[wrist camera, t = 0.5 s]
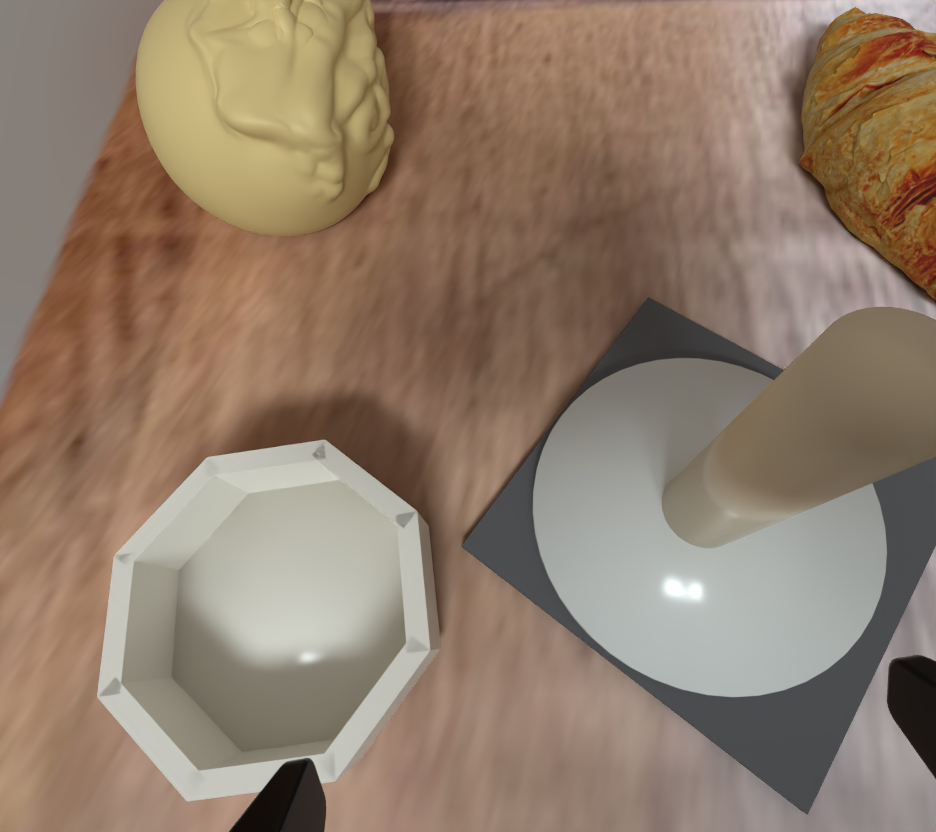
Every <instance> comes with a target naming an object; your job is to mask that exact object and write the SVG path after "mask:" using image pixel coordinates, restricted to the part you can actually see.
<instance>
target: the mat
mask: <svg viewBox="0 0 936 832" xmlns="http://www.w3.org/2000/svg"><path fill="white" fill-rule="evenodd" d="M673 358H699V359H706V360H714V361H721V362H725V363H729V364H733V365H737V366H741V367H743V368H746V369H749V370H752V371H755V372H757V373H760V374H762V375H764V376H766V377H768V378H771V379H773V380H775V379H776V378H777V377H778V376H779V375H780V374H781V373H782V372H783V370H781V369H780V368H778V367H776V366H774V365H772V364H770V363H768V362H767V361H765V360H763V359H761V358H759V357H757V356H756V355H754V354H752V353H750V352H748V351H746V350H744V349H743V348H741V347H739V346H737V345H735V344H733V343H732V342H730V341H728V340H726V339H724V338H722V337H721V336H719V335H717V334H715V333H713V332H711V331H709V330H708V329H706V328H704V327H702V326H700V325H698V324H697V323H695V322H693V321H691V320H689V319H687V318H685V317H684V316H682V315H680V314H678V313H676V312H674V311H673V310H671V309H669V308H667V307H665V306H663V305H661V304H660V303H658V302H656V301H654V300H652V299H650V298H649V297H648V298H647V300H646V301H645V302H644V304H643V305H642V306H641V308H640V309H639V310H638V312H637V313H636V314H635V316H634V317H633V318H632V320H631V321H630V322H629V324H628V325H627V326H626V328H625V329H624V330H623V332H622V333H621V334H620V336H619V337H618V338H617V340H616V341H615V342H614V344H613V345H612V346H611V348H610V349H609V350H608V352H607V353H606V354H605V356H604V357H603V358H602V360H601V361H600V362H599V364H598V365H597V366H596V368H595V369H594V370H593V372H592V373H591V374H590V376H589V377H588V378H587V380H586V381H585V382H584V384H583V385H582V386H581V388H580V389H579V390H578V391H577V393H576V394H575V395H574V397H573V398H572V399H571V401H570V402H569V403H568V405H567V406H566V407H565V409H564V410H563V411H562V413H561V414H560V415H559V417H558V418H557V419H556V421H555V422H554V423H553V425H552V426H551V427H550V429H549V430H548V431H547V433H546V434H545V435H544V437H543V438H542V439H541V441H540V442H539V443H538V445H537V446H536V447H535V449H534V450H533V451H532V453H531V454H530V455H529V457H528V458H527V459H526V461H525V462H524V463H523V465H522V466H521V467H520V469H519V470H518V471H517V473H516V474H515V475H514V477H513V478H512V479H511V481H510V482H509V483H508V485H507V486H506V487H505V489H504V490H503V491H502V493H501V494H500V495H499V497H498V498H497V499H496V501H495V502H494V503H493V505H492V506H491V507H490V509H489V510H488V511H487V513H486V514H485V515H484V517H483V518H482V519H481V521H480V522H479V523H478V525H477V526H476V527H475V529H474V530H473V531H472V533H471V534H470V535H469V537H468V538H467V539H466V541H465V542H464V543H463V545H462V547H463V548H464V549H465V550H467V551H468V552H469V553H470V554H472V555H473V556H474V557H476V558H477V559H478V560H479V561H481V562H482V563H483V564H485V565H486V566H487V567H488V568H490V569H491V570H492V571H494V572H495V573H496V574H497V575H499V576H500V577H501V578H503V579H504V580H505V581H507V582H508V583H509V584H510V585H512V586H513V587H514V588H516V589H517V590H518V591H519V592H521V593H522V594H523V595H525V596H526V597H527V598H528V599H530V600H531V601H532V602H534V603H535V604H536V605H537V606H539V607H540V608H541V609H543V610H544V611H545V612H546V613H548V614H549V615H550V616H552V617H553V618H554V619H555V620H557V621H558V622H559V623H561V624H562V625H563V626H564V627H566V628H567V629H568V630H570V631H571V632H572V633H573V634H575V635H576V636H577V637H579V638H580V639H581V640H582V641H584V642H585V643H586V644H588V645H589V646H590V647H591V648H593V649H594V650H595V651H597V652H598V653H599V654H600V655H602V656H603V657H604V658H606V659H607V660H608V661H609V662H611V663H612V664H613V665H615V666H616V667H617V668H618V669H620V670H621V671H622V672H624V673H625V674H626V675H627V676H629V677H630V678H631V679H633V680H634V681H635V682H636V683H638V684H639V685H640V686H642V687H643V688H644V689H645V690H647V691H648V692H649V693H651V694H652V695H653V696H654V697H656V698H657V699H658V700H660V701H661V702H662V703H663V704H665V705H666V706H667V707H669V708H670V709H671V710H672V711H674V712H675V713H676V714H678V715H679V716H680V717H681V718H683V719H684V720H685V721H687V722H688V723H689V724H691V725H692V726H693V727H694V728H696V729H697V730H698V731H700V732H701V733H702V734H703V735H705V736H706V737H707V738H709V739H710V740H711V741H712V742H714V743H715V744H716V745H718V746H719V747H720V748H721V749H723V750H724V751H725V752H727V753H728V754H729V755H730V756H732V757H733V758H734V759H736V760H737V761H738V762H739V763H741V764H742V765H743V766H745V767H746V768H747V769H748V770H750V771H751V772H752V773H754V774H755V775H756V776H757V777H759V778H760V779H761V780H763V781H764V782H765V783H766V784H768V785H769V786H770V787H772V788H773V789H774V790H775V791H777V792H778V793H779V794H781V795H782V796H783V797H784V798H786V799H787V800H788V801H790V802H791V803H792V804H793V805H795V806H796V807H797V808H799V809H800V810H801V811H803V812H804V813H806V814H808V812H809V810H810V808H811V806H812V804H813V802H814V800H815V798H816V796H817V793H818V791H819V789H820V787H821V785H822V783H823V781H824V779H825V777H826V775H827V772H828V770H829V768H830V766H831V764H832V762H833V760H834V758H835V756H836V754H837V751H838V749H839V747H840V745H841V743H842V741H843V739H844V737H845V735H846V733H847V731H848V728H849V726H850V724H851V722H852V720H853V718H854V716H855V714H856V712H857V710H858V707H859V705H860V703H861V701H862V699H863V697H864V695H865V693H866V691H867V689H868V686H869V684H870V682H871V680H872V678H873V676H874V674H875V672H876V670H877V668H878V666H879V663H880V661H881V659H882V657H883V655H884V653H885V651H886V649H887V647H888V645H889V642H890V640H891V638H892V636H893V634H894V632H895V630H896V628H897V626H898V624H899V621H900V619H901V617H902V615H903V613H904V611H905V609H906V607H907V605H908V603H909V600H910V598H911V596H912V594H913V592H914V590H915V588H916V586H917V584H918V582H919V580H920V577H921V575H922V573H923V571H924V569H925V567H926V565H927V563H928V561H929V559H930V556H931V554H932V552H933V550H934V548H935V546H936V457H934V458H931V459H929V460H927V461H924V462H922V463H919V464H917V465H915V466H912V467H910V468H907V469H905V470H903V471H900V472H898V473H896V474H893V475H891V476H888V477H886V478H884V479H881V480H879V481H876V482H874V483H872V484H873V486H874V489H875V492H876V495H877V497H878V500H879V503H880V506H881V511H882V515H883V520H884V525H885V532H886V545H887V558H886V573H885V578H884V583H883V587H882V592H881V596H880V599H879V601H878V604H877V606H876V609H875V611H874V614H873V616H872V618H871V620H870V622H869V623H868V625H867V627H866V628H865V630H864V632H863V633H862V635H861V637H860V638H859V639H858V640H857V641H856V643H855V644H854V645H853V646H852V647H851V648H850V650H849V651H848V652H847V653H846V654H845V655H844V656H843V657H842V658H840V659H839V660H838V661H837V662H836V663H834V664H833V665H832V666H831V667H830V668H828V669H827V670H825V671H824V672H822V673H820V674H819V675H817V676H815V677H813V678H812V679H810V680H808V681H807V682H804V683H801V684H799V685H796V686H794V687H791V688H788V689H786V690H783V691H778V692H774V693H769V694H764V695H760V696H745V697H725V696H713V695H705V694H700V693H696V692H691V691H687V690H682V689H679V688H676V687H673V686H670V685H668V684H665V683H662V682H659V681H657V680H654V679H651V678H649V677H647V676H645V675H643V674H641V673H640V672H638V671H636V670H634V669H632V668H630V667H628V666H627V665H625V664H624V663H622V662H621V661H619V660H618V659H616V658H615V657H613V656H612V655H610V654H609V653H608V652H606V651H605V650H604V649H603V648H602V647H601V646H600V645H598V644H597V643H596V642H595V641H594V640H593V639H592V638H590V637H589V636H588V634H587V633H586V632H585V631H584V630H583V629H582V628H581V627H580V626H579V624H578V623H577V622H576V621H575V620H574V619H573V618H572V616H571V615H570V613H569V612H568V611H567V609H566V608H565V606H564V605H563V603H562V602H561V601H560V599H559V598H558V596H557V594H556V592H555V590H554V588H553V586H552V584H551V582H550V581H549V579H548V577H547V574H546V571H545V569H544V566H543V563H542V561H541V558H540V555H539V551H538V547H537V543H536V539H535V534H534V524H533V515H532V508H533V489H534V483H535V476H536V470H537V466H538V463H539V460H540V456H541V453H542V450H543V448H544V446H545V443H546V441H547V439H548V437H549V435H550V433H551V431H552V429H553V428H554V426H555V425H556V423H557V422H558V420H559V419H560V417H561V416H562V414H563V413H564V412H565V411H566V410H567V409H568V408H569V406H570V405H571V404H572V403H573V402H574V401H575V400H576V399H577V398H578V397H579V396H581V395H582V394H583V393H584V392H585V391H586V390H587V389H589V388H590V387H592V386H593V385H595V384H596V383H598V382H599V381H601V380H602V379H604V378H606V377H608V376H610V375H612V374H614V373H616V372H618V371H620V370H623V369H626V368H629V367H632V366H635V365H637V364H641V363H646V362H651V361H655V360H662V359H673Z"/></svg>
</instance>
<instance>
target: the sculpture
mask: <svg viewBox="0 0 936 832" xmlns="http://www.w3.org/2000/svg"><path fill="white" fill-rule="evenodd" d="M376 45H377V38H376V35H375V30H374V12H373V9H372V5H371V1H370V0H164V1H163V2H162V3H161V4H160V6H159V7H158V8H157V9H156V11H155V12H154V14H153V15H152V17H151V18H150V20H149V22H148V24H147V26H146V28H145V30H144V33H143V36H142V38H141V42H140V46H139V50H138V55H137V63H136V90H137V99H138V105H139V110H140V114H141V118H142V121H143V125H144V128H145V131H146V133H147V136H148V138H149V141H150V143H151V145H152V147H153V149H154V151H155V153H156V155H157V157H158V159H159V161H160V162H161V164H162V165H163V167H164V169H165V170H166V171H167V173H168V174H169V176H170V177H171V178H172V179H173V181H174V182H175V183H176V184H177V185H178V186H179V188H180V189H181V190H182V191H183V192H184V193H185V194H186V195H187V196H188V197H190V198H191V199H192V200H193V201H194V202H195V203H197V204H198V205H199V206H200V207H202V208H203V209H204V210H206V211H207V212H209V213H210V214H212V215H213V216H215V217H217V218H218V219H220V220H222V221H224V222H226V223H228V224H230V225H232V226H235V227H237V228H240V229H242V230H245V231H249V232H252V233H256V234H261V235H267V236H278V237H288V236H299V235H305V234H310V233H314V232H317V231H320V230H323V229H326V228H328V227H330V226H332V225H334V224H336V223H338V222H339V221H341V220H342V219H344V218H345V217H346V216H347V215H349V214H350V213H351V212H352V211H353V210H354V209H355V208H356V207H357V206H358V205H359V204H360V203H361V201H362V200H363V199H364V197H365V196H366V195H368V194H369V193H371V192H373V191H374V190H375V189H376V188H377V187H378V185H379V183H380V180H381V177H382V175H383V173H384V172H385V170H386V167H387V163H388V156H389V153H390V148H391V145H392V144H393V142H394V131H393V129H392V127H391V126H390V125H389V124H388V123H387V121H388V119H389V117H390V114H391V108H390V104H389V83H388V76H387V71H386V65H385V59H384V55H383V53H382V51H381V50H380V49H379V48H378V47H376Z"/></svg>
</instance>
